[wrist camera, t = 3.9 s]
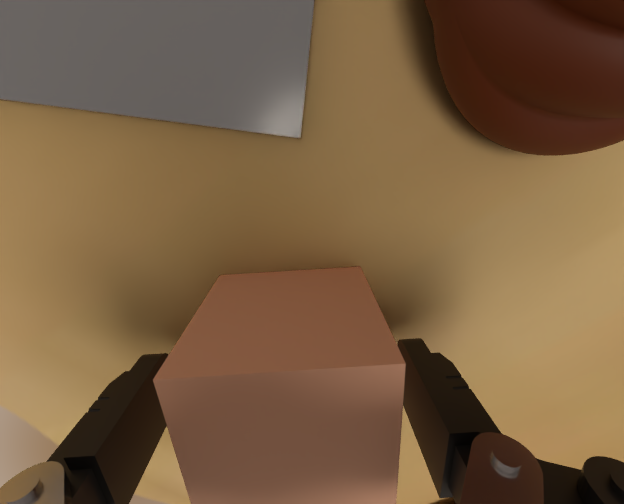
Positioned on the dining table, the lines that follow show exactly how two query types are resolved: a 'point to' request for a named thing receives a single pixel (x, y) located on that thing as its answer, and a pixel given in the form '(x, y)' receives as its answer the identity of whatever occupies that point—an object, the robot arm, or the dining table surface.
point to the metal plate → (162, 59)
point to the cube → (286, 392)
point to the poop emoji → (535, 70)
